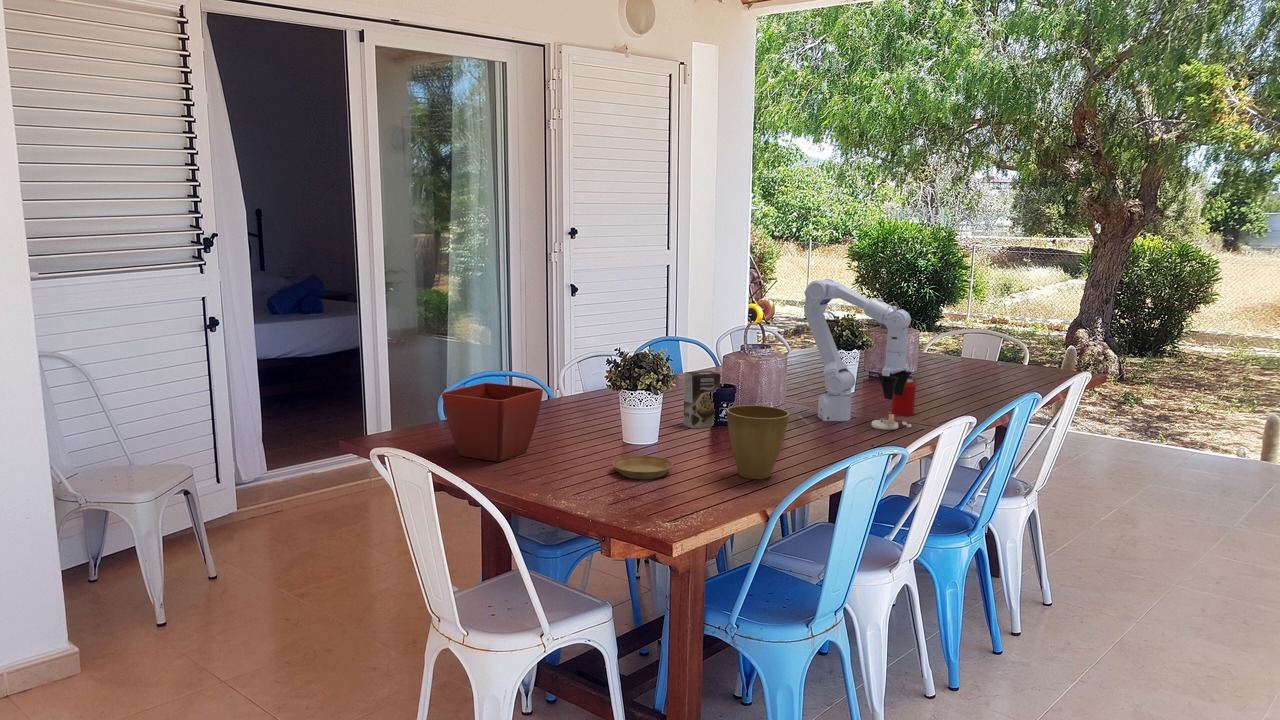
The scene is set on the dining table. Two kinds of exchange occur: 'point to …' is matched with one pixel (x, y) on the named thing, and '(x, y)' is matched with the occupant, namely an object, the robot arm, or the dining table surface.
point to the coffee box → (700, 398)
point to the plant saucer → (642, 466)
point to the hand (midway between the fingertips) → (893, 397)
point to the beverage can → (904, 401)
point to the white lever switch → (885, 423)
